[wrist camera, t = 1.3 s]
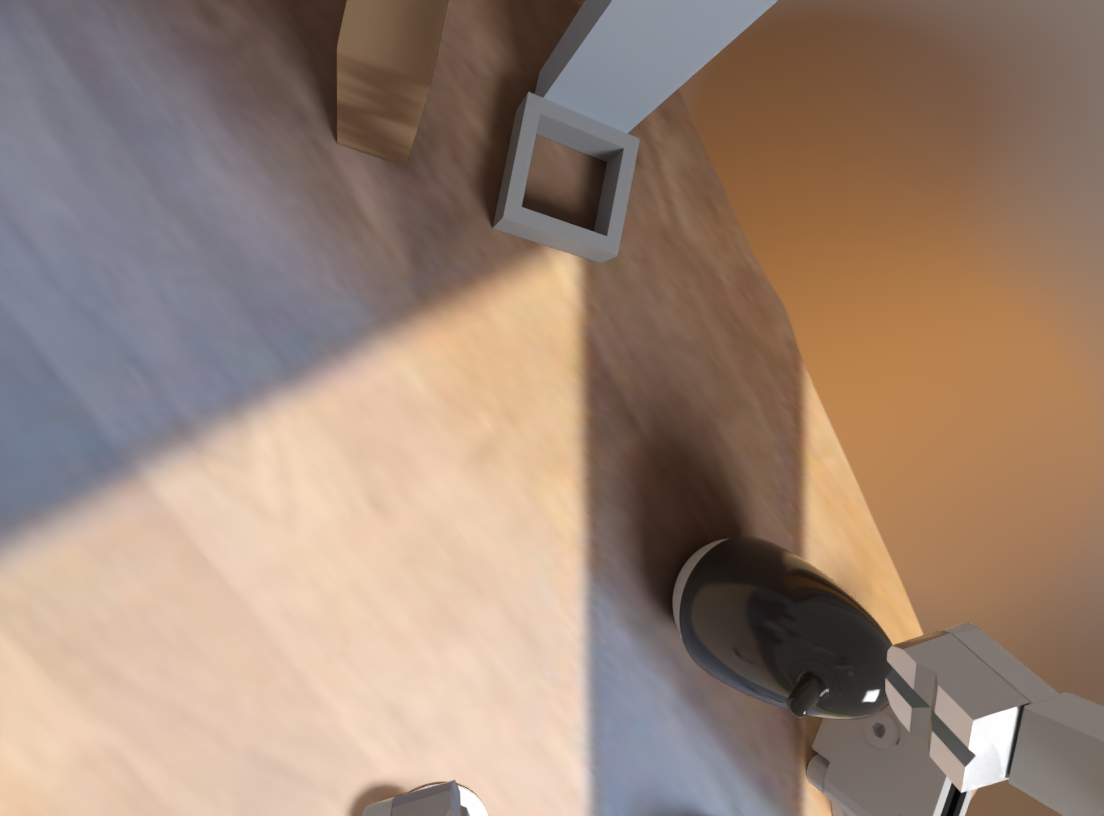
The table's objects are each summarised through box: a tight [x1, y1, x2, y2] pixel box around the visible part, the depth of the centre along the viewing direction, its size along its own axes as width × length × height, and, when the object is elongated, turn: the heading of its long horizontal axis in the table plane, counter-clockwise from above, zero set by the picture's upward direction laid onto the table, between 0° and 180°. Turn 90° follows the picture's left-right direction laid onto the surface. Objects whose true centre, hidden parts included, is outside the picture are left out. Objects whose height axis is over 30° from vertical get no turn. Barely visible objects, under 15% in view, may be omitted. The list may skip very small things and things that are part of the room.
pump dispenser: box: [673, 536, 893, 720], centre depth 36 cm, size 10×10×15 cm
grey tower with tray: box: [493, 0, 778, 263], centre depth 29 cm, size 8×12×19 cm
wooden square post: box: [337, 0, 449, 167], centre depth 29 cm, size 4×4×10 cm
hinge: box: [806, 705, 974, 816], centre depth 44 cm, size 14×5×10 cm, turn 164°
